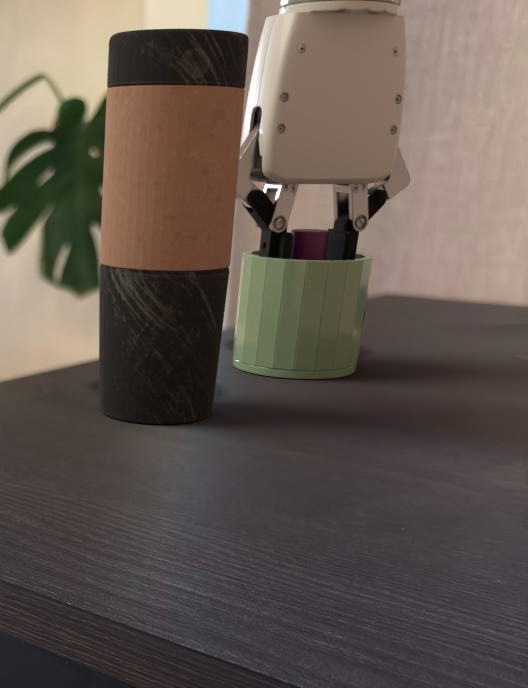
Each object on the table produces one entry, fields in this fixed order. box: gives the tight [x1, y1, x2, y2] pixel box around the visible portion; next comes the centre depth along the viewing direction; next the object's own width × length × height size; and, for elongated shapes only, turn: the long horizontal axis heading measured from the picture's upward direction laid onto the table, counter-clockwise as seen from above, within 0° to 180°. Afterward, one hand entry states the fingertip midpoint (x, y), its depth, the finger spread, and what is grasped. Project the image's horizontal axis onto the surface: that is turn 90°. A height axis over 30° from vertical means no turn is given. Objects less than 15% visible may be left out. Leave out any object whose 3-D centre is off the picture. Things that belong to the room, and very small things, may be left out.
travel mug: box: [98, 28, 250, 425], centre depth 55 cm, size 8×8×20 cm
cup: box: [232, 248, 375, 380], centre depth 70 cm, size 9×9×8 cm
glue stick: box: [290, 228, 330, 260], centre depth 70 cm, size 3×3×9 cm
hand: (303, 286), depth 70 cm, fingers open, 4 cm apart
